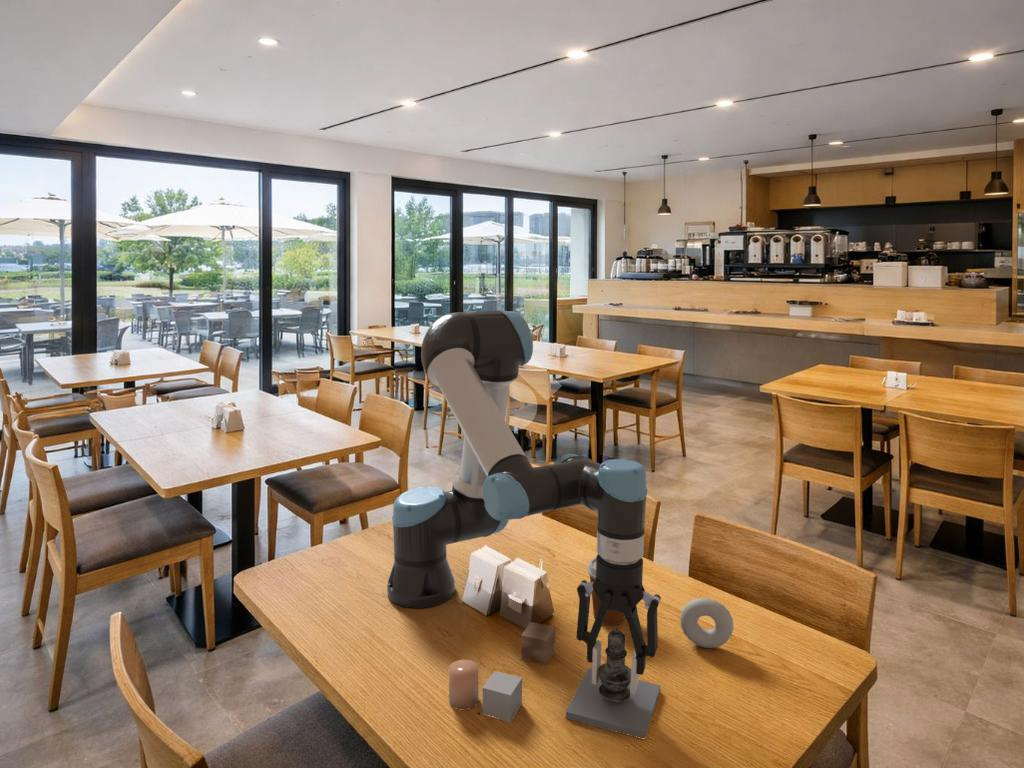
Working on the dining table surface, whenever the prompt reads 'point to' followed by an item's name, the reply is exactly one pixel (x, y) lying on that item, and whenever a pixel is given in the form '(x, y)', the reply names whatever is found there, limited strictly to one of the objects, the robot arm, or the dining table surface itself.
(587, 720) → the slate board
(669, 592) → the dining table surface
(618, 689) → the salt shaker
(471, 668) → the peach rounded capsule
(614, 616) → the disposable coffee cup
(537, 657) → the walnut block
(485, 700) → the grey block
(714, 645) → the donut
